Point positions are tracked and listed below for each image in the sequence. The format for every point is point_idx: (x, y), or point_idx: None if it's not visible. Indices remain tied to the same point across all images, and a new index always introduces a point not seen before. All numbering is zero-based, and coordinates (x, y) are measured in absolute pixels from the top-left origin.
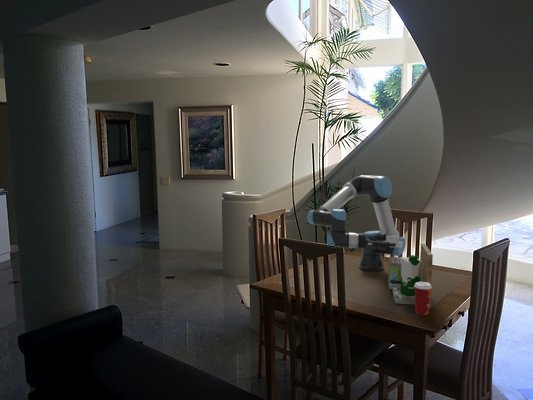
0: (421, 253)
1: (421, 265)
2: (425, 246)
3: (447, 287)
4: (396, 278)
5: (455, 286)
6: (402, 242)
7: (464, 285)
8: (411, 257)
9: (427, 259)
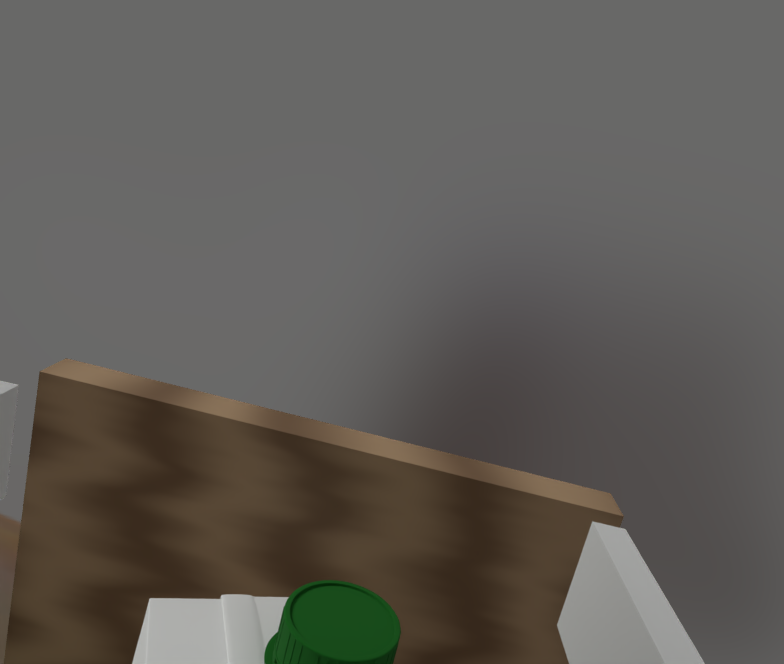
0: (107, 494)
1: (117, 624)
2: (219, 403)
3: (2, 616)
4: None
5: (9, 572)
6: (623, 537)
7: (17, 530)
8: (388, 656)
9: (561, 565)
